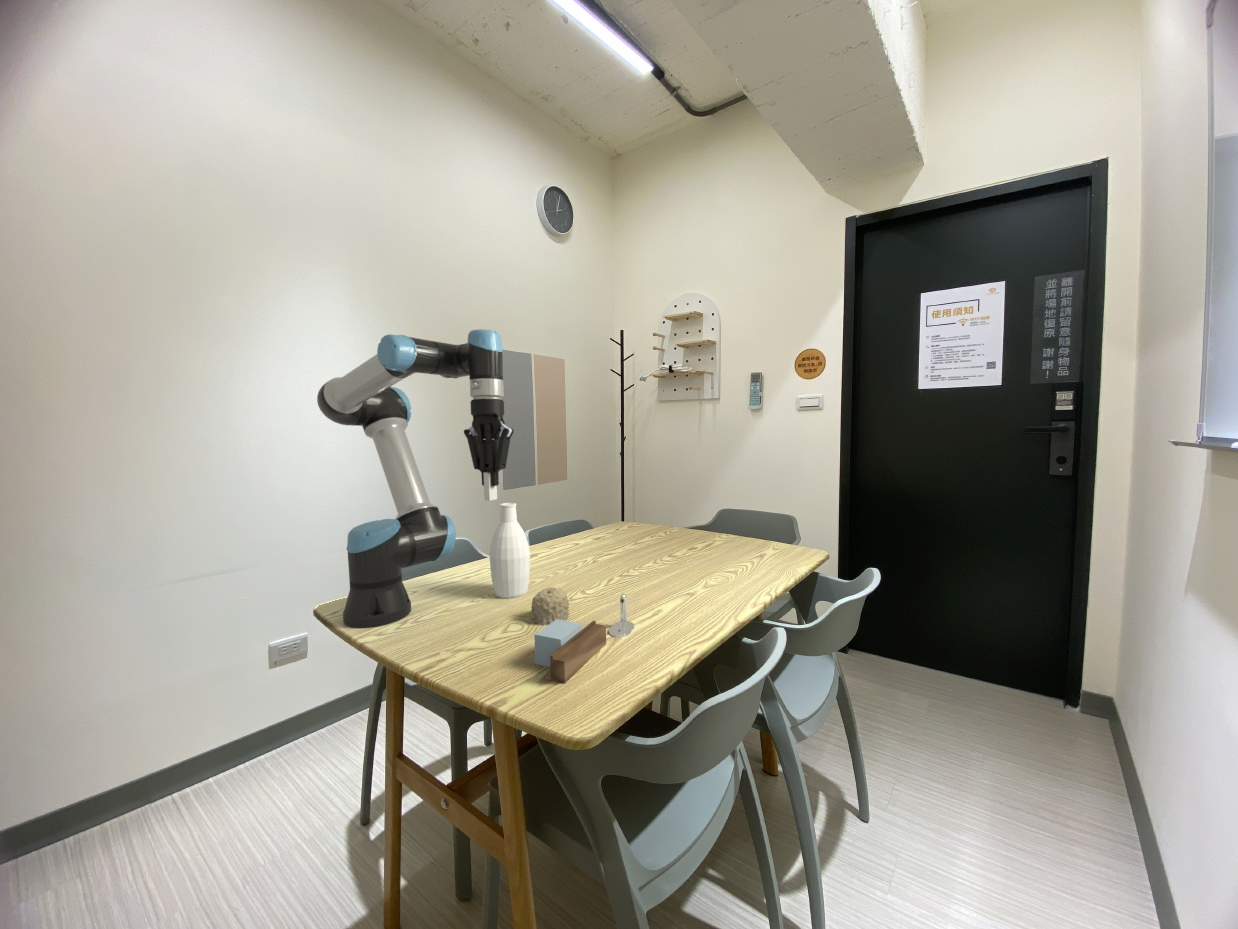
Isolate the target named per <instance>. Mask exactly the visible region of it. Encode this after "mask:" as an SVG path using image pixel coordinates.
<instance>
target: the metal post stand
mask: <svg viewBox="0 0 1238 929" xmlns="http://www.w3.org/2000/svg"><path fill="white" fill-rule="evenodd" d="M619 602H620V605H619V606H620V620H619V621H616V622H613V624H612V625H611V627H610V628H609V629H608V634H609V635H610V636H611V637H614V638H624V637H627V636H629V635H630V634H632V632H633V631H634V629H635V624H634V622H632V621H628V618H627V616H628V614H627V613H628V611H627V610H628V608H627V595H626V594H624V593H621V595H620V599H619Z"/></svg>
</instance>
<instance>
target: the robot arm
mask: <svg viewBox="0 0 1238 929" xmlns="http://www.w3.org/2000/svg"><path fill="white" fill-rule="evenodd" d="M503 352H504V350H503V344H502V337H501V334H500V333H499V332H498V331H496V330H491V329H473V330H470V331H469V332H468V334H467V343H465V342H464V343H462V344H452V343H446V342H441V341H434V340H429V339H422V338H417V337H412V336H407V335H404V334H403V335H402V334H386V335H383V337H381V338H380V342H379V343H378V344H377V350H376V354H374V356H372V357H370V358H369V359H367V360H366V361H364V362H363V363H361V364H360V365H358V366H357V367H355V368H354V369H352V370H351V371H349V372H348V373H346V374H344V375H343V376H342V377H334V378H331V379H329V380H328V381H326V382H325V383H324V384H323V385H321V387H320V388H319V390H318V393H317V396H316V398H317V399H316V400H317V401H316V402H317V406H318V408H319V410H320V412H321V413H322V414H323V415H324V416H325V417H326V418H327V419H328V420H330V421H331V422H333V423H336V424H338V425H343V426H354V427H355V426H357V427H358V426H359V427H362V429H363V432H364V434H365V436H366V437H368V438H370V439H372V440H373V443H374V447H375V449H376V451H377V455H378V457H379V461H380V464H381V466H382V470H383V473H384V476H385V478H386V482H387V485H388V488H389V490H390V494H391V497H392V500H393V503H394V506H395V510H396V511H397V516H396V517H395V518H383V519H380V520H379V519H378V520H377V519H376V520H373V521H368V522H365V523H362V524H358V525H357V526H355V527H353V528H352V529H351V530H350V531H349V532H348V534H347V541H346V542H347V543H346V544H347V546H346V551H347V563H348V577H349V580H348V581H349V592H348V595H347V599H346V603H345V607H344V610H343V613H342V618H343V620H342V621H343V624H344V625H345V626H347V627H351V628H371V627H378V626H384V625H387V624H391V623H395V622H397V621H399V620H401V619H404V618H405V617H407V616H409V615H410V613H411V611H412V602H411V599H410V597H409V594H408V591H407V590H406V587H405V584H404V582H403V569H404V568H408V567H413V566H417V565H420V564H424V563H429V562H436V561H437V560H440V559H442V558H445V557H447V556H448V555H449V554H450V553H451V552H452V550H453V549H454V547H455V542H456V536H457V534H456V533H457V532H456V526H455V523H454V521H453V520H452V518H450V517H449V516H447V515H443V514H441V512H440V509H439V507H438V506H437V505H434V504H432V503H431V502H430V499H429V496H428V493H427V491H426V487H425V485H424V482H423V480H422V479H423V478H422V476H421V474H420V470H419V467H418V465H417V461H416V459H415V456H414V453H413V451H412V448H411V445H410V442H409V440H408V436H407V434H406V429H407V428H408V426H409V421H410V419H411V417H412V411H411V410H412V405H411V402H410V399H409V397H408V396H407V394H406V393H405V391H403V390H402V389H401V388H398V387H395V386H394V385H397V383H399V382H401V381H403V380H404V379H406V378H408V377H409V376H412V375H414V374H425V375H426V374H429V375H435V376H441V377H442V378H445V379H459V378H462V377H469V378H468V379H469V392H470V393H469V394H470V395H469V396H470V397H471V398H472V399H471V401H470V402H469V403H470V415H471V416H472V418H473V419H472V422H471V426H470V427H469V428H468V429H467V428H466V429H464V430H463V434H464V436H465V438H466V440H467V443H468V447H469V448H468V449H469V452H470V455H471V456H470V457H471V461H472V465H473V468H474V470H477V471H480V473H481V474H480V475H481V485H482V487H483V489H484V490H483V491H484V492H483V493H484V496H483V497H484V501H488V502H491V501H495V500H497V499H498V490H497V488H498V486H499V485H500V483H499V480H500V479H499V476H500V475H499V472H500V471H502V470H505V469H506V467H507V461H508V456H509V448H510V443H511V438H512V436H513V434H514V428H513V427H512V428H511V427H510V428H509V427H508V426H507V425H505V424H506V422H505V420H504V415H505V401H504V400H503V399H502V398H504V397H505V393H504V389H505V388H504V387H505V386H504V370H503V369H504V366H503V360H504V359H503V358H504V357H503Z"/></svg>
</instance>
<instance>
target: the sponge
mask: <svg viewBox="0 0 1238 929" xmlns="http://www.w3.org/2000/svg"><path fill="white" fill-rule="evenodd" d="M531 600H532V601H531V611H530V612H531V614H530V616H531V617H530V618H531V619H532V620H533V621H534V622H535V623H536V624H538V625H540V626H548V625H549V624H551V623H552V622H554V621H555V620H557V619H558V620H563V621H567V619H569V617H570V616H569V614H570V611H569V608H570V605H569V604H570V602H569V599H568V595H567V592H565V590H563V589H562V588H560V587H559V588H558V587H554V586H553V587H546V588H544V589H542V590H540V591H538V592H537V593H536V594H535V596H534V597H533V598H532V599H531Z"/></svg>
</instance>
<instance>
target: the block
mask: <svg viewBox="0 0 1238 929" xmlns="http://www.w3.org/2000/svg"><path fill="white" fill-rule="evenodd" d="M582 629H583V623H581V622H574V621H568V620H565V621H563V620H558V619H557V620H555V621H554V622H552V623H551V624H549V625H545V627H543V628H542V629H540V630H539V631H537V632H536V633H534V635H533V636H534V660H535V661H534V662H535V665H538V666H543V667H547V668H550V655H551V654H552V653H554V652H555V651H556V650H557V649H559V648H560V647H561V646H562V645H563V644H565V643H566V642H567V641H568V640H570V639H571V638H572V637H573V636H575V635H576V634H577V633H578V632H580V631H581V630H582Z"/></svg>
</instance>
